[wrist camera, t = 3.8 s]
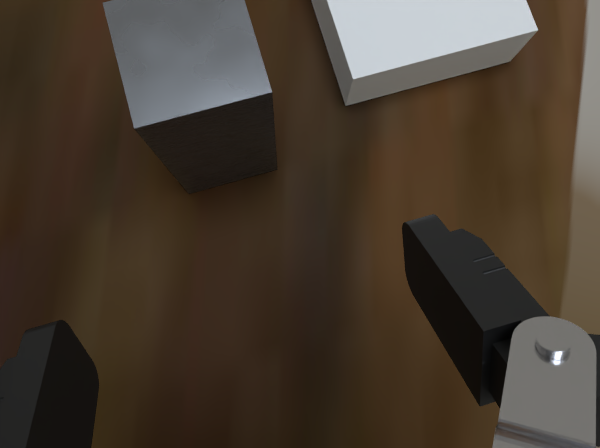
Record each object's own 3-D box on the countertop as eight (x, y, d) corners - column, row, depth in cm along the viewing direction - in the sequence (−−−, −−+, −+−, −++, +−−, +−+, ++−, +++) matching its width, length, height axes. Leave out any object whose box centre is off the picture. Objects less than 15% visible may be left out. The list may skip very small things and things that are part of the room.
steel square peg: (189, 193, 25) (134, 128, 16) (166, 110, 25) (102, 3, 17) (277, 169, 25) (271, 91, 16) (253, 87, 26) (235, -30, 17)
